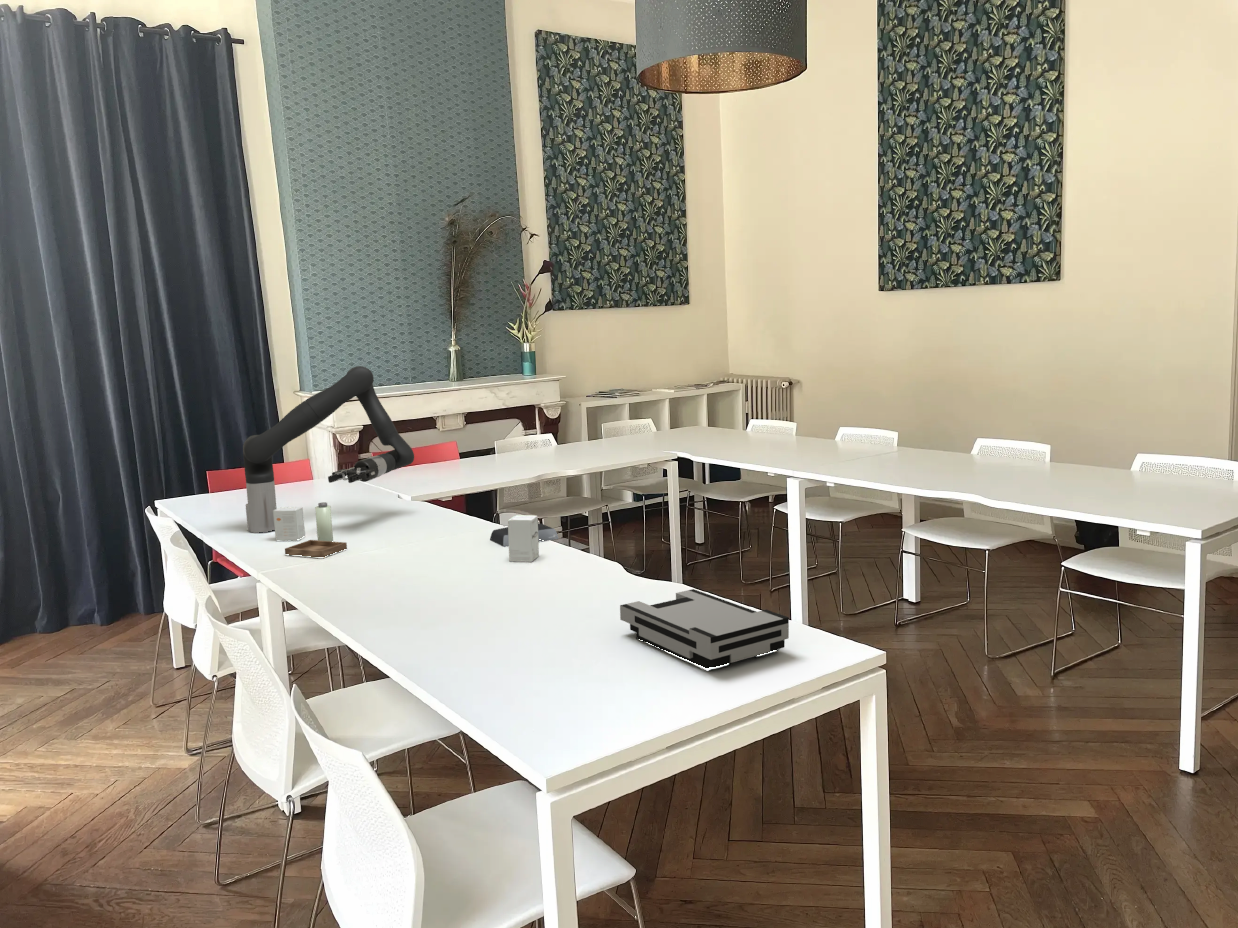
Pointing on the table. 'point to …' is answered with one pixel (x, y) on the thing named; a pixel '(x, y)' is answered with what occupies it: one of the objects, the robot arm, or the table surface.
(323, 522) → the bottle
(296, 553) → the tray
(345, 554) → the table surface
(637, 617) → the game console
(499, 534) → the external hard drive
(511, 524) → the supplement box
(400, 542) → the table surface
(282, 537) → the small box
